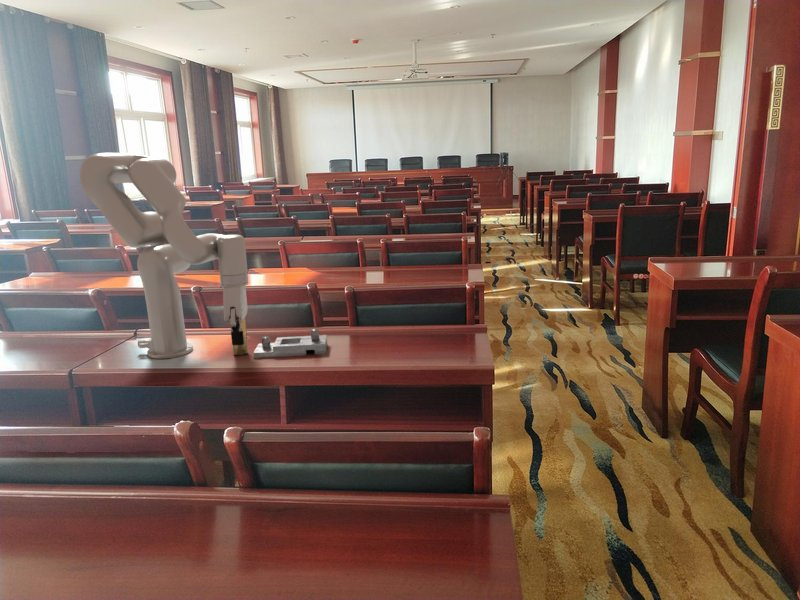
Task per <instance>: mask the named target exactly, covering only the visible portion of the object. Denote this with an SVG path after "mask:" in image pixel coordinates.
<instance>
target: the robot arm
mask: <svg viewBox="0 0 800 600" xmlns="http://www.w3.org/2000/svg"><path fill="white" fill-rule="evenodd" d="M79 178H80V179H79V180H80V184H81V187H82V190H83V191H84V192H85V194H86V196H87V197H88V199H89V200H90V201H91V202H92V203H93V204H94V206H95V207H96V208H97V209H98V210H99V211H100V213H101V214H102V215H103V217H104V218H105V219H106V221H107V222H108V223H109V225H110V227H112V229H113V230H114V232H115V233H116V235H118V237H119V238H120V239H121V241H122V242H123V243H124V244H125V245H126V246H127V247H130V248H135V249H136V248H142V247H147V246H148V247H147V248H145V249H143V250H142V251H141V252H140V253H139V255H138V257H137V260H136V262H137V263H136V266H137V270H138V271H137V272H138V274H139V276H140V279H141V282H142V285H143V290H144V291H143V292H144V298H145V303H146V310H147V317H148V325H149V332H150V338H148V339H139V340H137V346H138V348H139V349H145V348H146V349H148V350H147V357H149V358H152V359H156V360H157V359H158V360H160V359H161V360H162V359H163V360H164V359H173V358H177V357H182V356H185V355H187V354H189V353H192V351H193V350H194V345H193V344H192V343H189V342H187V335H186V327H185V317H184V310H183V309H184V308H183V302H182V296H181V295H182V294H181V290H180V287H179V286H180V285H179V284H178V282H177V280H176V277H175V275H178V274H181V273H183V272H185V271H186V270H188V269H189V268H190V266H191V265H192V266H193V265H194V266H196V265H197V266H198V265H202V264H205V263H208V262H212V261H215V260H217V261H218V271H219V272H218V273H219V280H220V281H219V282H220V286H221V288H222V289H223V290H222V292H223V293H222V302H223V304H222V305H223V319H224V322H226V323H228V322H229V321H230V322H229V323H230V336H231V345H232V346H233V345H243V344H244V338H243V331H242V327H241V321H242V320H243V319H244V318H245V319H246V316H247V314H248V301H247V297H248V296H247V290H246V288H247V287H246V286H247V285H249V275H248V261H247V250H246V239H245V237H244V236H243V235H241V234H219V233H215V232H214V233H204V234H199V235H196V234H195V233H194V231H193V230H192V229H191V228H190V227H189V226H188V224H187V222H186V221H185V218H184V215H183V214H184V213H183V210H184V209H185V207H186V204H187V198H186V197H185V196H184V194H183V193H182V192H181V190H179V188H178V187H177V186H176V184H175V182H176V180H177V170H176V168H175V166H174V165H173V164H172V163H171V162H170V160H168V159H165V158H163V157H157V156H150V155H149V156H148V155H143V154H142V155H141V154H135V153H130V152H98V153H93V154H91V155H89V156H87V157H86V158H85V159H84V160H83V162H82V164H81V165H80V169H79ZM128 183H129V184H133V186H135V188H136V189H137V191H139V193H140V194H141V195H142V196H143V198H144V200H146V201H147V202H148V204H150V206H151V207H152V208H153V210H154V211H144V212H143V211H141V210H140V209H139V208H138V207H137V206H136V204H135V203H134V202H133V200H132V199H131V198H130V197H129V196H128V195H127V194H126V193H125V192H124V191H123V190H121V189H120V188H119V187H117V186H116V184H128ZM237 318H239V319H238V320H236V319H237ZM236 323H239V325H238V324H236ZM246 324H247V323H246V322H245V325H246ZM246 337H247V338H248V334H247V331H246Z"/></svg>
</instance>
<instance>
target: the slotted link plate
mask: <svg viewBox="0 0 800 600" xmlns="http://www.w3.org/2000/svg"><path fill="white" fill-rule="evenodd" d="M274 343H275V342H271V337H270V336H268V335H265V336H262V337H261V343H258V344H257V346H256V348H255V349H254V351H253V359H261V358H279V357H281V358H282V357H294V356H307V353H308V350H298V351H280V352H273V345H274ZM289 344H299V343H289Z"/></svg>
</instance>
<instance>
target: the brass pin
mask: <svg viewBox="0 0 800 600" xmlns="http://www.w3.org/2000/svg"><path fill="white" fill-rule="evenodd" d="M238 319H239V318H237V319H236V320H238ZM245 323H246V317H245V318H244V319H243V320H242V321H241V327H242V331H243V338H244V344H243V345H232V352H233V353H232V354H233V355H236V356H243V355H247V354H248V353H249V352H248V336H247V337H246V332H247V326H246V325H245ZM236 324H238V325H239V323H236Z"/></svg>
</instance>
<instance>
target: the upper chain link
mask: <svg viewBox="0 0 800 600" xmlns="http://www.w3.org/2000/svg"><path fill="white" fill-rule="evenodd" d="M309 331H310V335H302V336H301V335H299V336H281V337H276V339H275V341H274V342H273V343H274V345H273V352H280V351H298V350H307V351H311V350H312V351H314V355H326V354H327V348H328V336H327V334H322V335H321V334H320V329H319V328H312V329H310V330H309ZM289 343H299V344H289Z"/></svg>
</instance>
